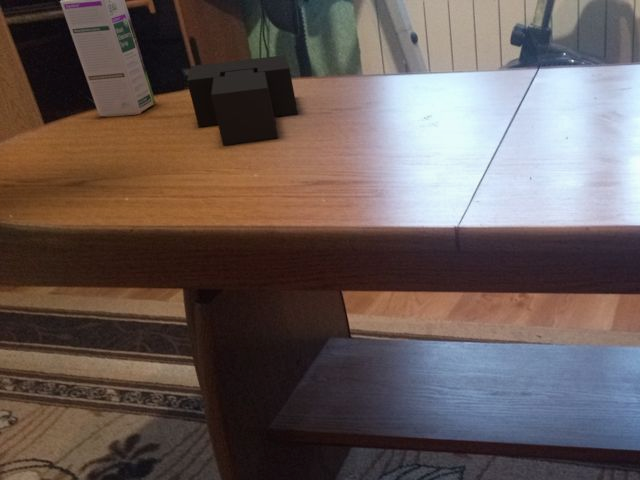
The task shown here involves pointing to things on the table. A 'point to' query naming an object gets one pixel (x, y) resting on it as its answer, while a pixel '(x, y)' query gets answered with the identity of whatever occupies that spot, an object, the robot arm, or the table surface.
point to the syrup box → (109, 55)
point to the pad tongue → (243, 107)
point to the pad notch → (272, 66)
